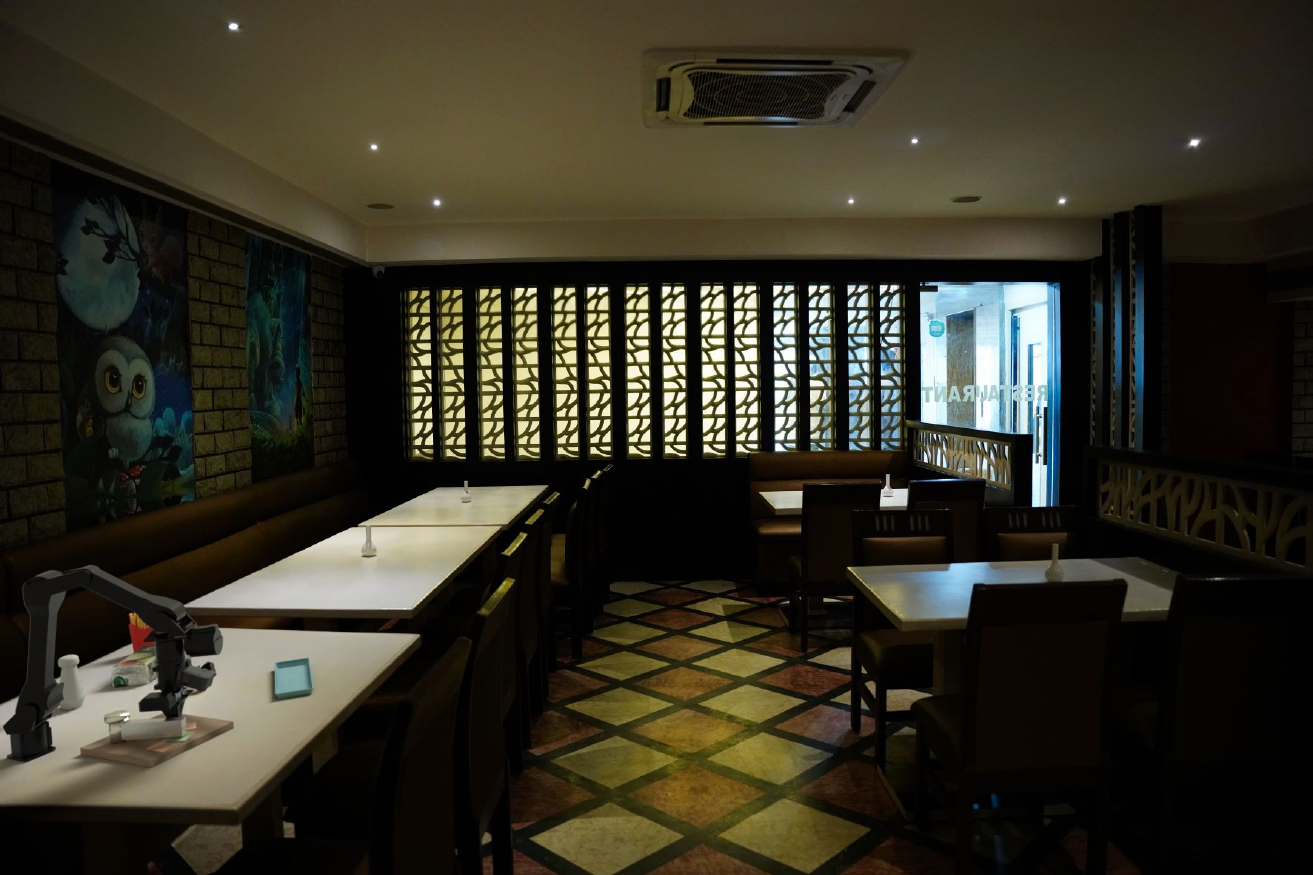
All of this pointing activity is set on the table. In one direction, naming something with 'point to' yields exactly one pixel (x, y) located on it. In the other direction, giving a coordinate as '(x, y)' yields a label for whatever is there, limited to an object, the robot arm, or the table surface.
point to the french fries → (138, 632)
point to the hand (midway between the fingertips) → (176, 726)
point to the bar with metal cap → (142, 727)
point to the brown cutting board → (158, 743)
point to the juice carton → (136, 668)
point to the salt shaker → (71, 683)
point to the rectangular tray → (293, 678)
